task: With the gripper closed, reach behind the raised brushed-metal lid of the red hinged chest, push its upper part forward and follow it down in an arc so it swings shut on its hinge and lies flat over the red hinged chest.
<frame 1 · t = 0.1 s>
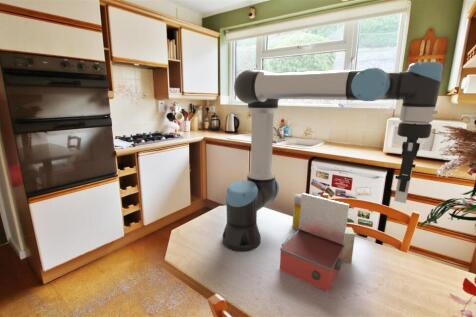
hand: (401, 194, 74), 28 cm above the table, fingers open, 13 cm apart
box: (343, 258, 89), on the table
lid: (322, 218, 85), point 15 cm above the table, hinge at 95.0°
red hinged chest: (310, 267, 83), on the table
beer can: (299, 227, 109), on the table
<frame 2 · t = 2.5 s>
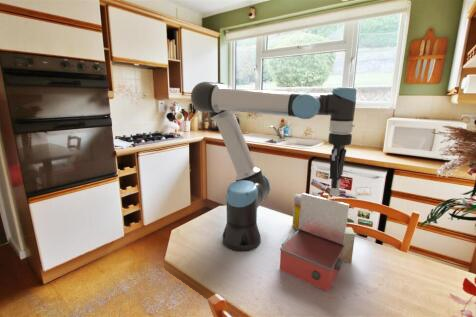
hand: (334, 195, 93), 20 cm above the table, fingers closed
nothing on the table moved.
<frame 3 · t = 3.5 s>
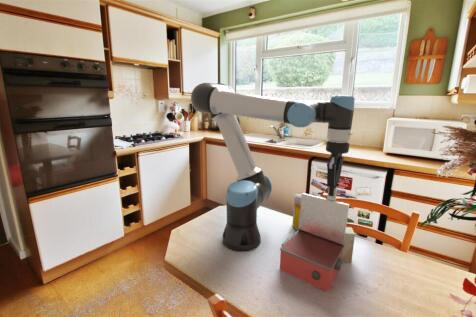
hand: (331, 202, 92), 17 cm above the table, fingers closed
nothing on the table moved.
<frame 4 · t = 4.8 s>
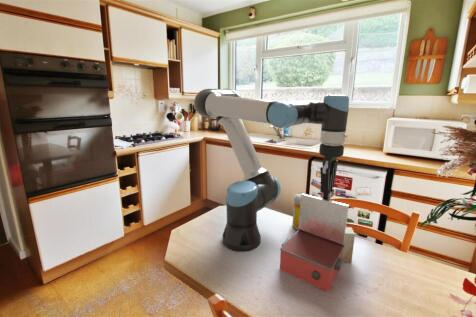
hand: (325, 208, 87), 17 cm above the table, fingers closed
lid: (322, 218, 85), point 15 cm above the table, hinge at 91.8°, touching gripper
everything else where it was.
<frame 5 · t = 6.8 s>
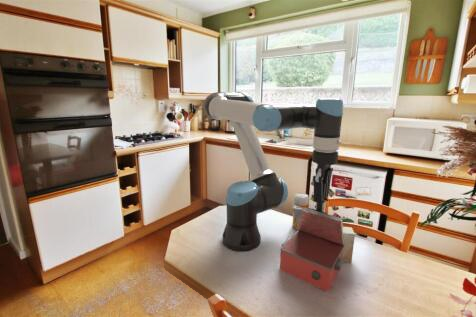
hand: (319, 219, 82), 16 cm above the table, fingers closed
lid: (318, 224, 83), point 14 cm above the table, hinge at 59.6°, touching gripper
everything else where it was.
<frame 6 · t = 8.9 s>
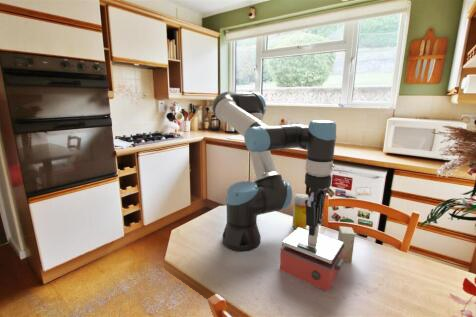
hand: (312, 242, 80), 10 cm above the table, fingers closed
lid: (313, 242, 81), point 10 cm above the table, hinge at 5.3°, touching gripper
everything else where it was.
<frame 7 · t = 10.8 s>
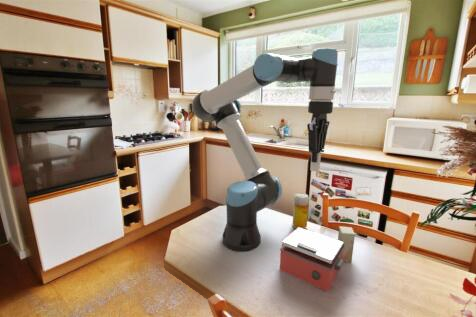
hand: (314, 170, 86), 31 cm above the table, fingers closed
lid: (313, 242, 81), point 10 cm above the table, hinge at 5.3°
everything else where it was.
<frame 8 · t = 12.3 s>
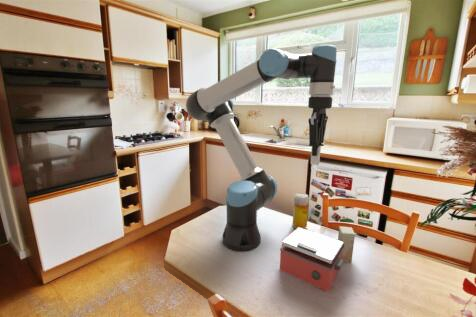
hand: (314, 164, 88), 32 cm above the table, fingers closed
nothing on the table moved.
at the end: lid at +5° (first picture: +95°) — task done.
